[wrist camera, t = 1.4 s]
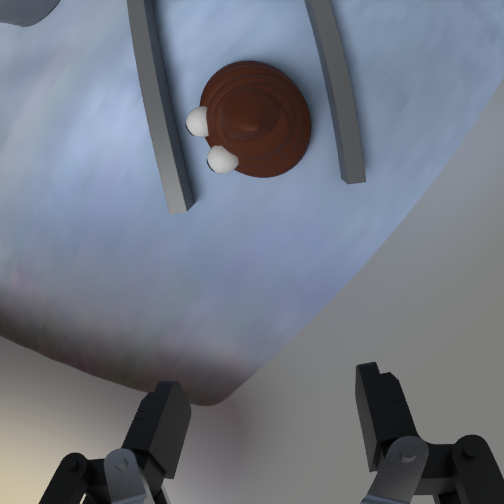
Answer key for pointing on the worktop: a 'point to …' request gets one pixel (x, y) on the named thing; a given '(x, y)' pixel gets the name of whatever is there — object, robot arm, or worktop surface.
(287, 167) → the poop emoji
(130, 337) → the worktop surface
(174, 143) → the channel
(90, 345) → the worktop surface
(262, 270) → the worktop surface
